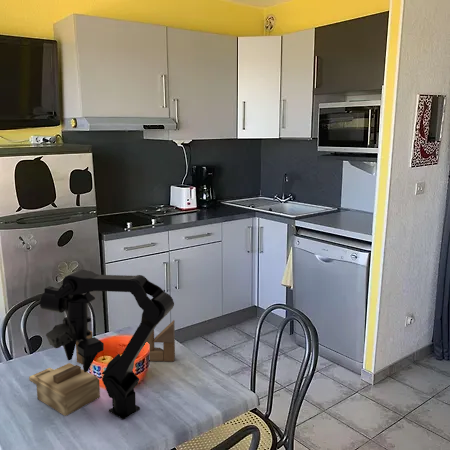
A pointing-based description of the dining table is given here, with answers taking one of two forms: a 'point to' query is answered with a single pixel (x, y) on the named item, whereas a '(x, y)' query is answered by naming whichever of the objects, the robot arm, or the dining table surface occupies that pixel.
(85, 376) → the lid
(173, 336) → the wooden block
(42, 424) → the dining table surface
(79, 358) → the brown block
